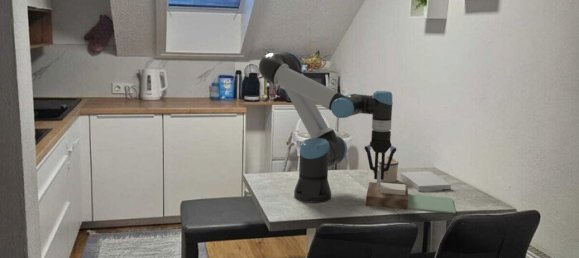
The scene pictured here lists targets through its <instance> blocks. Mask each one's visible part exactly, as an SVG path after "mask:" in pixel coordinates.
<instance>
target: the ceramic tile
mask: <svg viewBox="0 0 579 258" xmlns="http://www.w3.org/2000/svg"><path fill="white" fill-rule="evenodd" d="M405 191H406V184H401V183H394V182H393V183H387V182H381V185H380V193H388V194H399V195H405Z"/></svg>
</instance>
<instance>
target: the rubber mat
mask: <svg viewBox="0 0 579 258" xmlns="http://www.w3.org/2000/svg"><path fill="white" fill-rule="evenodd" d="M407 210H412V211H414V210H415V211H423V212H434V213H442V214H445V213H446V214H454V215H455V214H456V213H457V211H456V209H455V205H454V202H453V199H452V197H443V196H435V195H433V196H432V195H421V194H411V193H408V208H407Z"/></svg>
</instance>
